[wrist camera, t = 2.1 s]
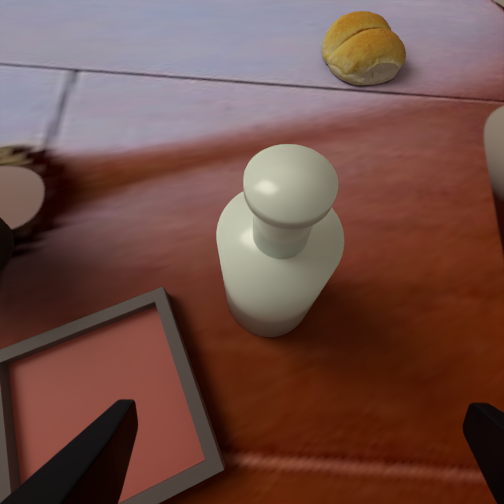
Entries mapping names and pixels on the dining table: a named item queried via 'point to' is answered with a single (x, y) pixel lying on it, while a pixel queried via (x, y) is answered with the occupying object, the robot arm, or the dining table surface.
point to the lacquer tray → (109, 398)
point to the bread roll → (363, 49)
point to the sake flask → (280, 239)
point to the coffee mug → (5, 243)
